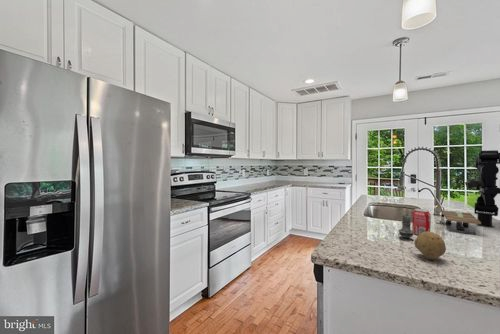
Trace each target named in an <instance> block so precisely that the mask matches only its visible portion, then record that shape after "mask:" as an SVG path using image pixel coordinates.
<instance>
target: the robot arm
mask: <svg viewBox="0 0 500 334" xmlns="http://www.w3.org/2000/svg"><path fill="white" fill-rule="evenodd" d="M477 155H478V156H477V157H476V158H475V164H474V166H475V169H476V172H477V174H479V176H478V177H477V179H471V180H468V181H465V182H464V185H465V187H466V189H469V190H471V189H473V188H474V189H475V190H477V192H479V194H480V195H479V196H478V197H477V198H476V202H474V211H473V212H474V214H475V215H477V217H476V218H477V219H478V220H479V221H480V222H481V224H476V225H477V226H479V227H487V228H489V227H490V228H495V225H493V217H499V207H498V206H497V204H496V199H495V198H496V197H497V195H500V187H499V186H498V185H497V180H498V179H499V178H498V176H497V174H498V173H499V171H500V169H499V167H498V166H497V165H500V152H499V150H498V149H497V150H495V149H493V150H480V152H478V154H477Z"/></svg>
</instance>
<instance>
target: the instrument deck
mask: <svg viewBox="0 0 500 334" xmlns="http://www.w3.org/2000/svg"><path fill="white" fill-rule="evenodd" d="M441 213H442V215H443V216H444V218H445V219H446V220H448V221H451V222H455V223H456V222H462V223H463V222H465V223H469V224H475V225H477V224H481V222H480V221H479V220H478V219H477V218H478V217H476V216H474V215H473V214H472V213H470V212H461V211H452V210H441Z"/></svg>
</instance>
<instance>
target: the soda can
mask: <svg viewBox="0 0 500 334" xmlns="http://www.w3.org/2000/svg"><path fill="white" fill-rule="evenodd" d="M411 219H412V221H411V227H412V229H411V231H413V232H414V235H416V236H419V235H420V234H421V233H423V232H427V231H429V232H431V224H432V223H431V219H432V216H431V213H430V210H429V209H424V208H415V209H413V212H412V218H411Z"/></svg>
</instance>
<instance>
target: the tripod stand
mask: <svg viewBox="0 0 500 334" xmlns="http://www.w3.org/2000/svg"><path fill="white" fill-rule="evenodd" d="M444 223H445V224H444V226H445V227H446V229H447V230H448V232H453V233H461V234H469V235H473V236H474V235H477V232H476V231H475V230H474V229H473V228H472V227H471V226H470V225H469V224H470V223H465V222H456V221H455V222H452V221H448V220H447V219H446V220H445V222H444Z"/></svg>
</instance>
